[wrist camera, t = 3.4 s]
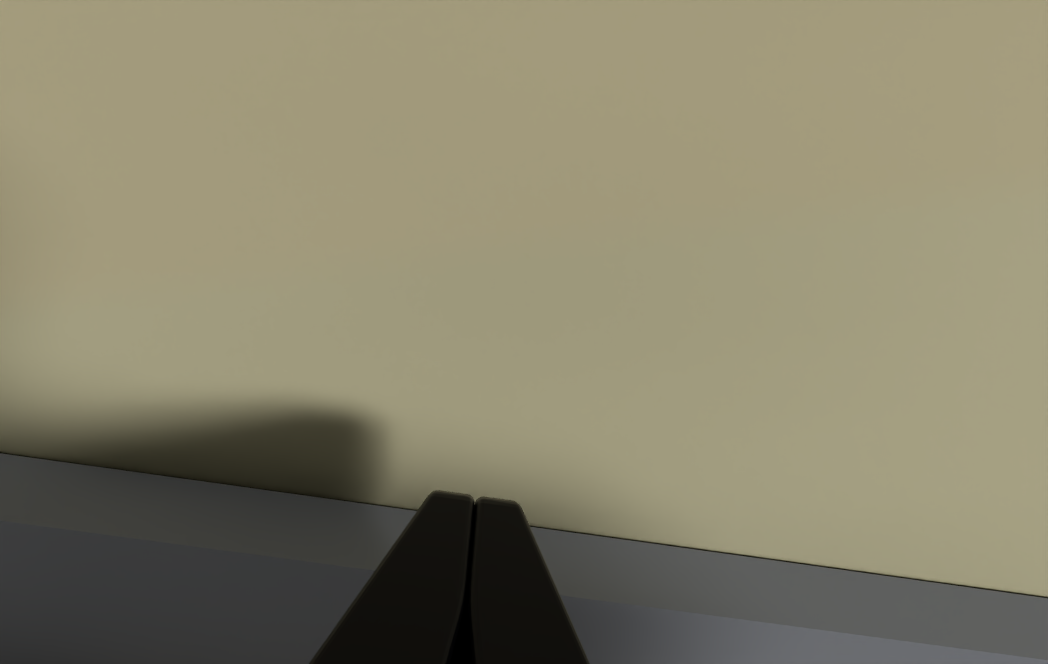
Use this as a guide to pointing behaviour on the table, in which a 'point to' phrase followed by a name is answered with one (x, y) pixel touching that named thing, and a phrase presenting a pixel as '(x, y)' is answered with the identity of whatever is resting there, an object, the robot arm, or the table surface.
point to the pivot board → (364, 540)
